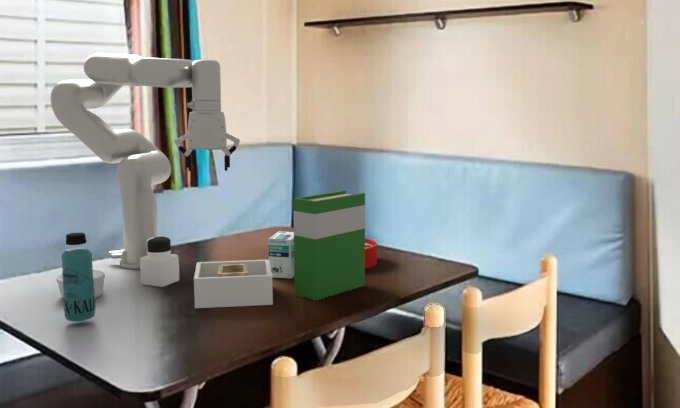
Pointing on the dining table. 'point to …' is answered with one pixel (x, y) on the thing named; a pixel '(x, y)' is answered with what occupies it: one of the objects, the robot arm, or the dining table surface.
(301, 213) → the hardback book
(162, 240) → the medicine bottle
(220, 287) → the grey plastic crate
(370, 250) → the toy clock
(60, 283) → the ramekin
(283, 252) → the light bulb box
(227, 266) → the small wooden crate
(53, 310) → the dining table surface
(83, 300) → the beverage bottle
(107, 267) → the dining table surface
